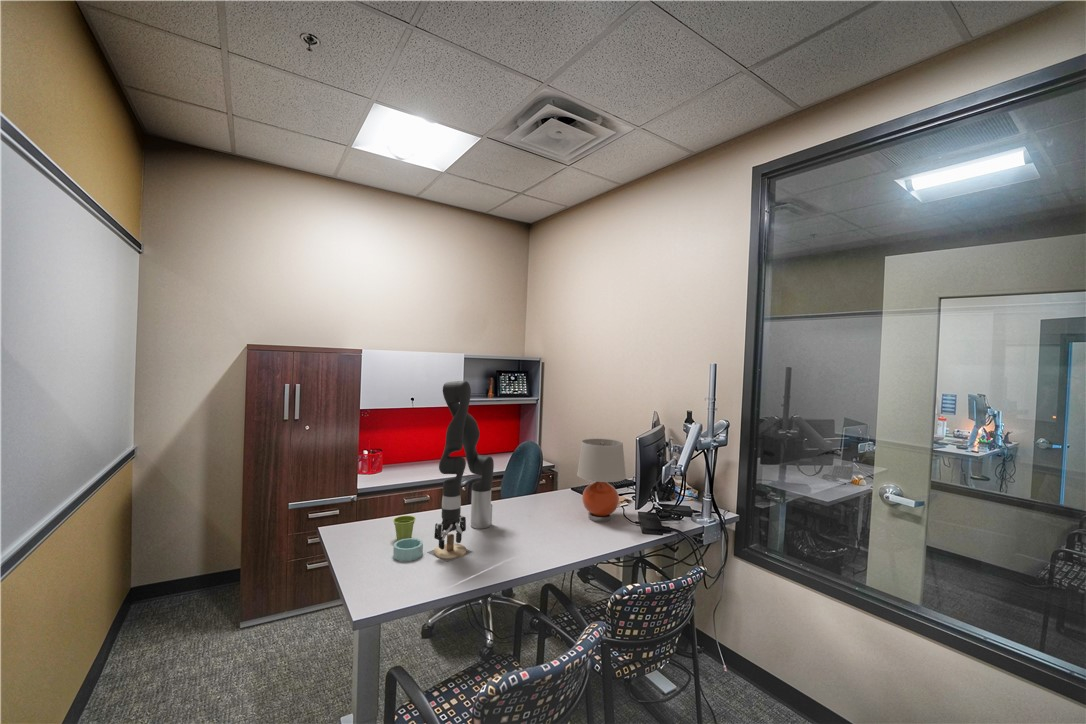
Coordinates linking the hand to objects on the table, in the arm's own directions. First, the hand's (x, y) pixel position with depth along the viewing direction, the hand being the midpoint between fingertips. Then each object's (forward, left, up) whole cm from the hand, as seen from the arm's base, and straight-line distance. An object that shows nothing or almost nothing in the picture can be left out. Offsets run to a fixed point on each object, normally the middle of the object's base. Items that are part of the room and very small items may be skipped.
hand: (450, 545), depth 186 cm
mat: (0, 0, -3) cm, 3 cm away
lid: (0, 0, -3) cm, 3 cm away
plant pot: (+4, -26, -3) cm, 27 cm away
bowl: (+13, -10, -3) cm, 17 cm away
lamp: (-79, +22, -3) cm, 82 cm away
